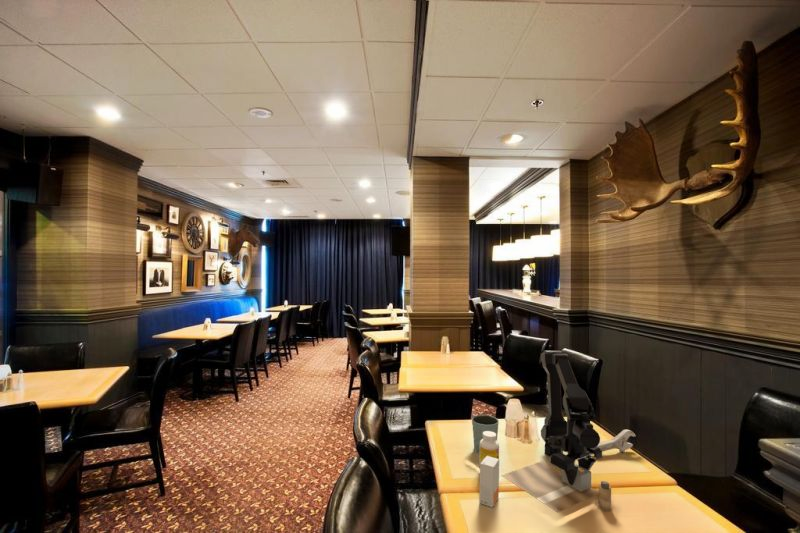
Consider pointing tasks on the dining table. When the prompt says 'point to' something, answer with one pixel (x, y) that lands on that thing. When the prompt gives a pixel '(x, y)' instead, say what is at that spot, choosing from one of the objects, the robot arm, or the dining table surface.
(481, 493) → the skincare box
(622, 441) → the wrench
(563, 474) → the block
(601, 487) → the tan small bottle
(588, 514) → the dining table surface
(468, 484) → the dining table surface
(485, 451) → the supplement bottle
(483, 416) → the grey green cup
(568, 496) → the board
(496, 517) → the dining table surface
